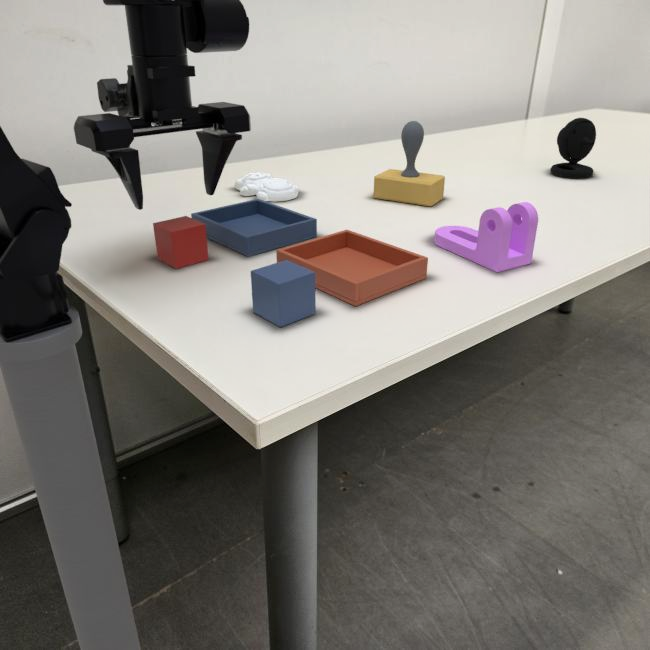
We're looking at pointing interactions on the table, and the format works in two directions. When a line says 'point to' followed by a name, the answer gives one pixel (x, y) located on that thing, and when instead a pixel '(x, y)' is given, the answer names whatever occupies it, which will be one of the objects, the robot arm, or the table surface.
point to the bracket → (495, 237)
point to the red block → (181, 241)
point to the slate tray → (256, 226)
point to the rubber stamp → (410, 175)
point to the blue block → (283, 292)
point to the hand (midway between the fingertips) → (175, 201)
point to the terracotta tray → (356, 265)
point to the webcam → (575, 148)
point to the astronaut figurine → (266, 187)
